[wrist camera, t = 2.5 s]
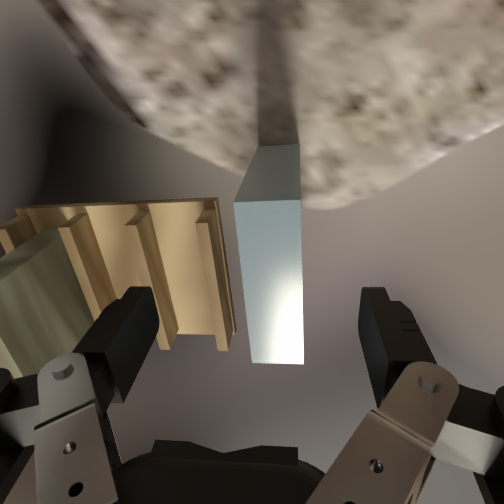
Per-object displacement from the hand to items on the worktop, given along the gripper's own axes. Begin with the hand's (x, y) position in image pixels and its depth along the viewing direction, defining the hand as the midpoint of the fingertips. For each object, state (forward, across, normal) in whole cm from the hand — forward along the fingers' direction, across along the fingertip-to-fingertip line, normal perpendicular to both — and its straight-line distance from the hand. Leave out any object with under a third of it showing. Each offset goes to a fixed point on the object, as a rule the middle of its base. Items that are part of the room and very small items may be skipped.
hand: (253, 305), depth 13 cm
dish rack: (+10, +10, +5) cm, 15 cm away
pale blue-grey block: (+10, -1, 0) cm, 10 cm away
